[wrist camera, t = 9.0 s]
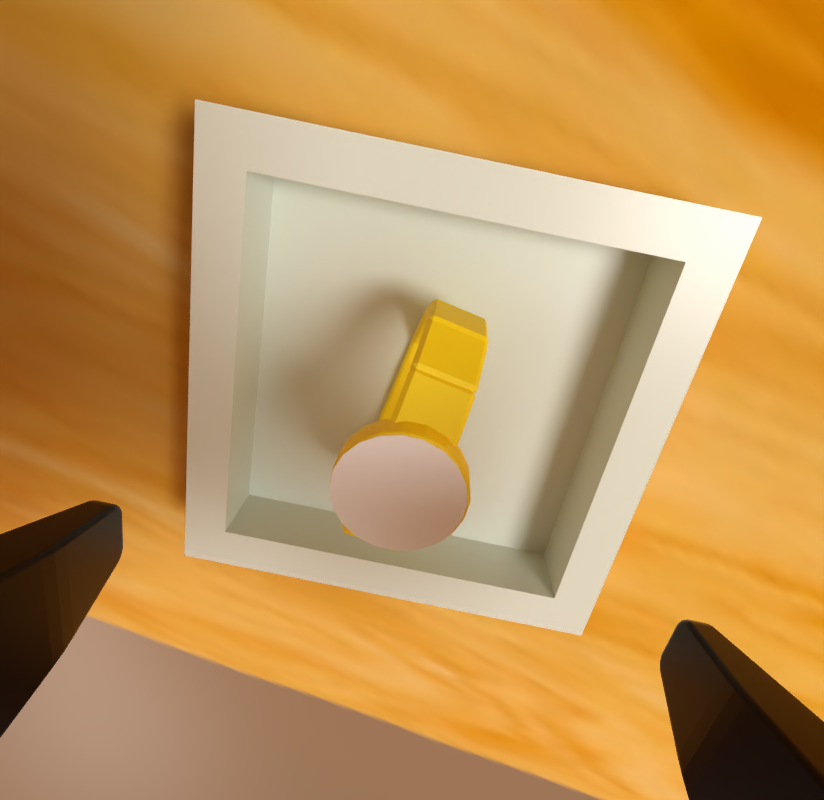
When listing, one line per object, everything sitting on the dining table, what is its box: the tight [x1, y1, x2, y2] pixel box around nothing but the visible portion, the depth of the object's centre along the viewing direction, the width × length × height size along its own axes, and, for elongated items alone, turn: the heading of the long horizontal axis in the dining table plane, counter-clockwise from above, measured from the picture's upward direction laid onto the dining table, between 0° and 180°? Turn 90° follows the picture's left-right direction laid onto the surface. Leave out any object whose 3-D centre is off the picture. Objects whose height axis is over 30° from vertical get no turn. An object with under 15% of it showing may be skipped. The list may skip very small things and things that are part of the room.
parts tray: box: [185, 99, 762, 635], centre depth 15 cm, size 12×12×2 cm
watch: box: [329, 299, 488, 551], centre depth 13 cm, size 6×3×6 cm, turn 158°
